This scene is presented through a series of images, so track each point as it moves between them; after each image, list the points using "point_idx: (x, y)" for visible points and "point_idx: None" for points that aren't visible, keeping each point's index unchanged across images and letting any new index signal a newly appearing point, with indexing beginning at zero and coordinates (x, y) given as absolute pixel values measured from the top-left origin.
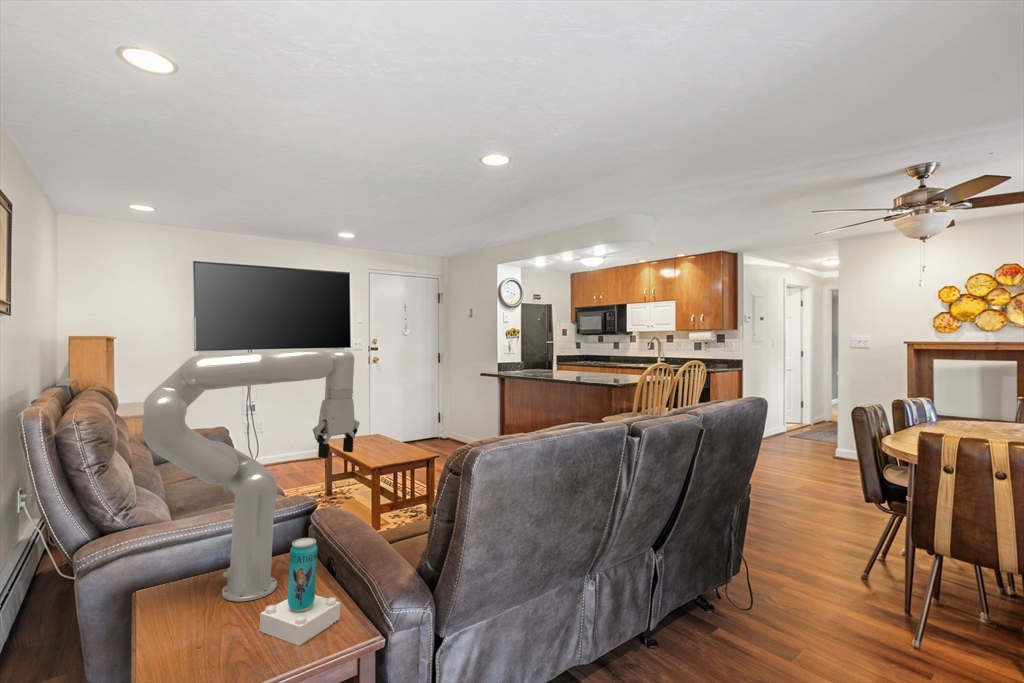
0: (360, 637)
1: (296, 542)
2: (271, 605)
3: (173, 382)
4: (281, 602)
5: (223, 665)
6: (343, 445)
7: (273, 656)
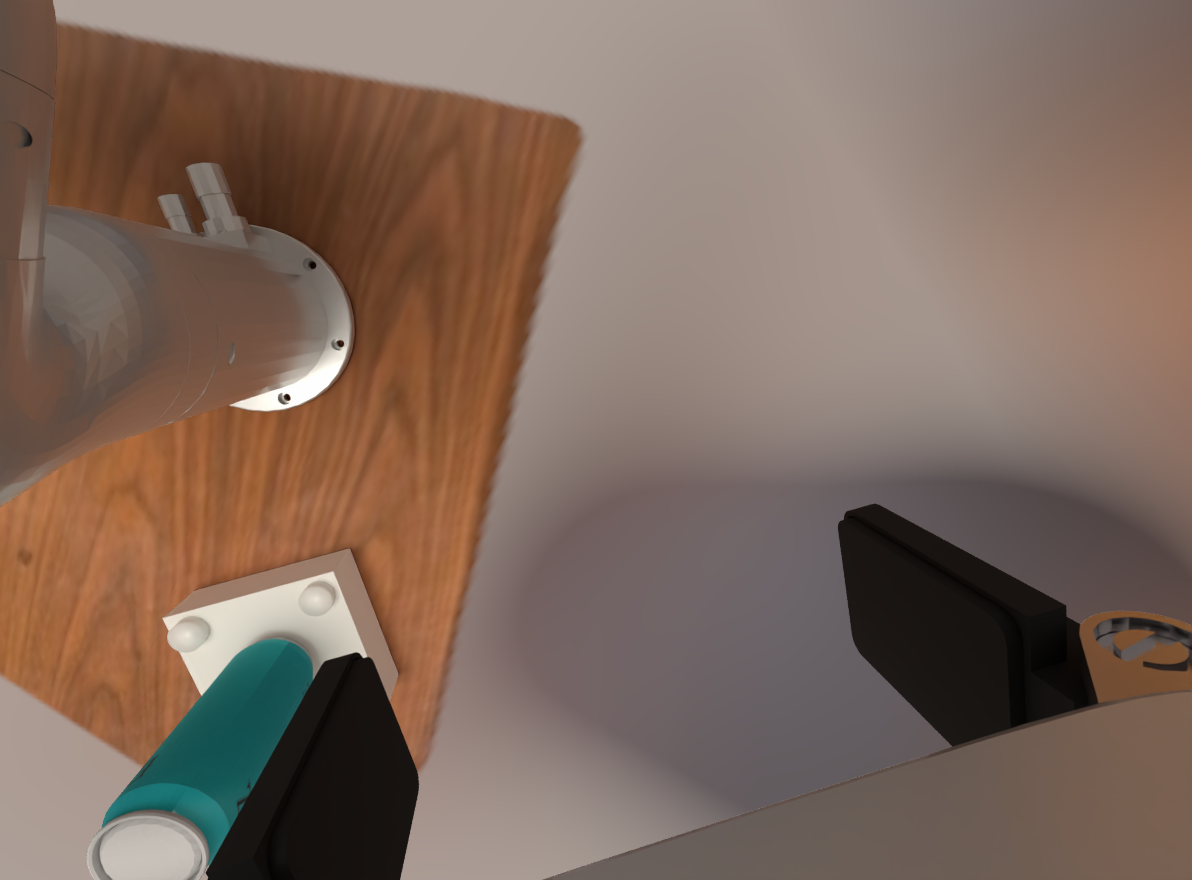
0: None
1: (113, 844)
2: (190, 630)
3: None
4: (244, 598)
5: (64, 677)
6: (896, 555)
7: (184, 716)
